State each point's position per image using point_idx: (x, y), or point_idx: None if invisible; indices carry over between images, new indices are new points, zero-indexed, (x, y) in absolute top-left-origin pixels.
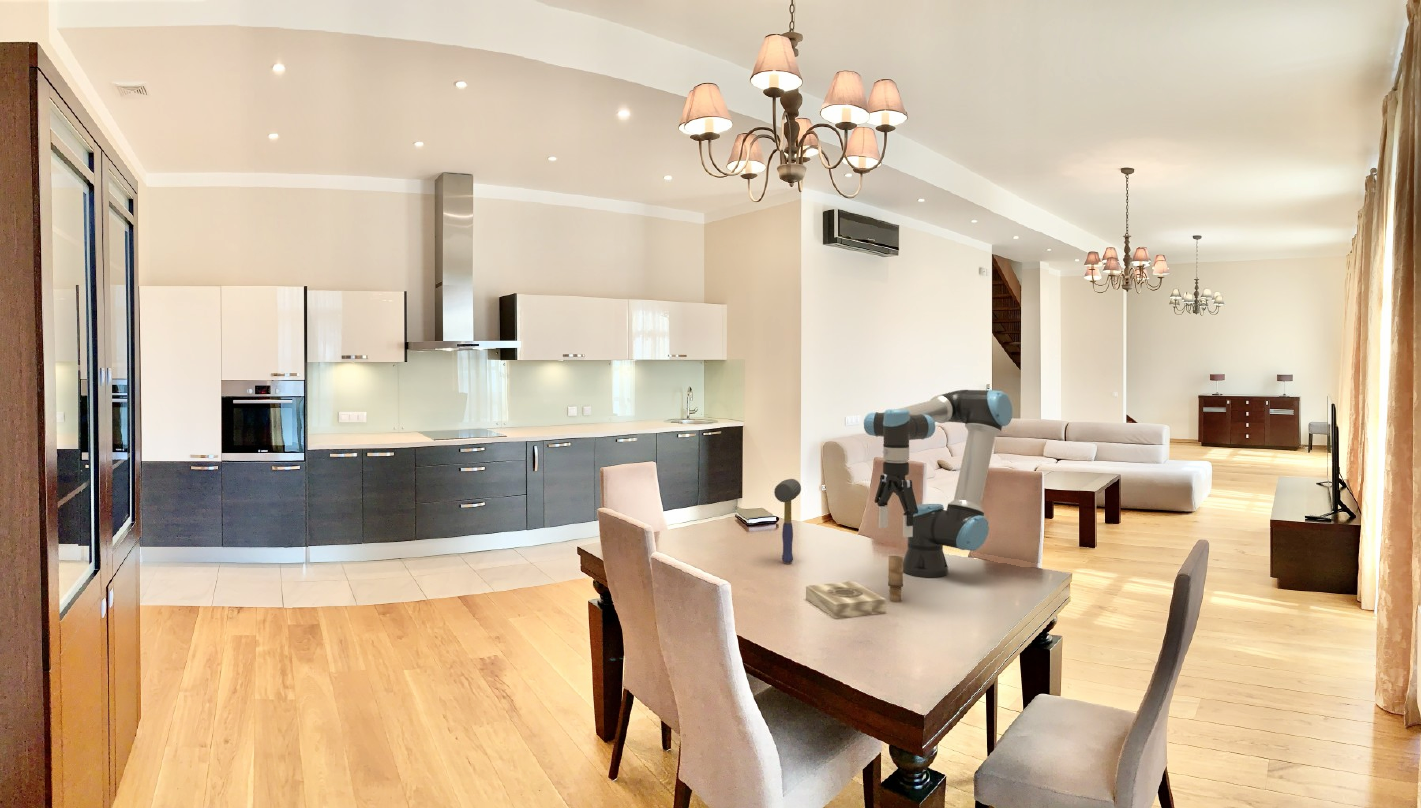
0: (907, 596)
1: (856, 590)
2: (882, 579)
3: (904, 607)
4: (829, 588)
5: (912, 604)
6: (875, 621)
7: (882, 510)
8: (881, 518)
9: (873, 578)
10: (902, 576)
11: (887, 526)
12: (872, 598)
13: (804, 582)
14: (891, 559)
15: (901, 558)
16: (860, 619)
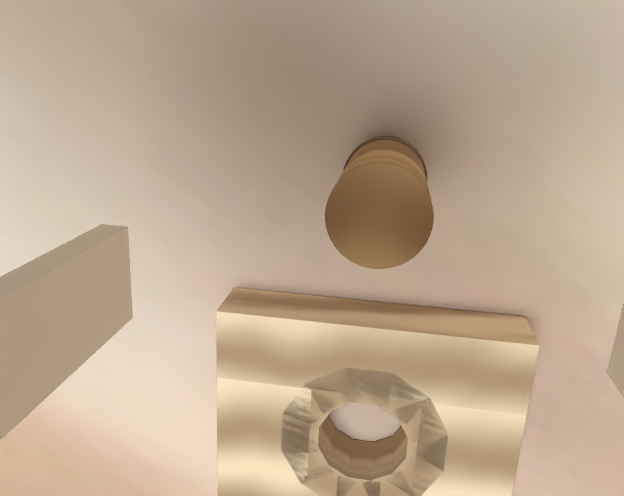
0: (356, 66)
1: (358, 383)
2: (50, 5)
3: (499, 192)
4: (286, 464)
5: (478, 126)
6: (596, 416)
7: (6, 397)
8: (77, 352)
9: (24, 42)
10: (419, 164)
11: (123, 234)
12: (500, 393)
13: None
14: (393, 263)
15: (423, 198)
16: (544, 450)
